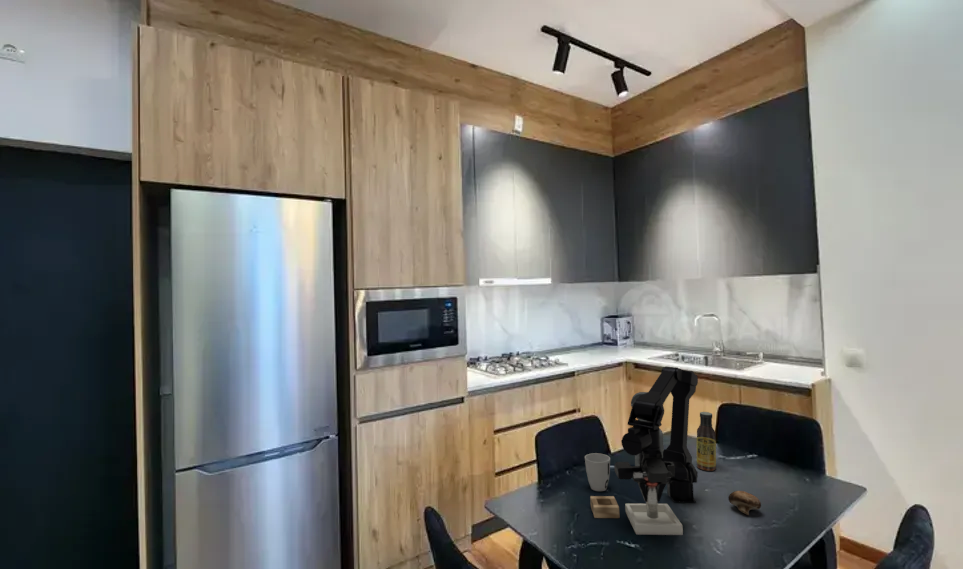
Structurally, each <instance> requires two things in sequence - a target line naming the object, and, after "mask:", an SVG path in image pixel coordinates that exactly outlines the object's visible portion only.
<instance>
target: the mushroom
mask: <svg viewBox="0 0 963 569" xmlns="http://www.w3.org/2000/svg"><path fill="white" fill-rule="evenodd" d="M728 501H729V504H731V505H732V506H734V507H737V510H738V511H740V512H741V513H743V514H744V515H747V516H749V515H750V511H751V510H754V511H755V510H760V509H761V507H762V503H761V501H760V499H759V498H758V497H757V496H755V495H753V494H752V493H748V492H747V491H744V490H734V491H733V492H731V493H730V494H729V495H728Z"/></svg>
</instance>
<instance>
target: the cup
mask: <svg viewBox="0 0 963 569" xmlns="http://www.w3.org/2000/svg"><path fill="white" fill-rule="evenodd" d="M584 461H585V462H584V465H585V471H586V475H587V481H588V483H589V486H590V489H591V490H593V491H595V492H605V491H606V490H607V489H608V486H609V482H610V481H609V480H610V474H611V457H610V456H609V455H607V454H603V453H597V452H595V453H593V452H592V453H589V454H588V453H587V454H586V455H584Z"/></svg>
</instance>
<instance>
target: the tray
mask: <svg viewBox="0 0 963 569" xmlns="http://www.w3.org/2000/svg"><path fill="white" fill-rule="evenodd" d="M624 504H625V506H624V510H625V514H626V516H627V519H628V520H629V522H630V525H631V526H632V528H633V531H634V533H635V534H636V535H637V536H638V535H639V536H641V535H643V536H645V535H647V536H648V535H653V536H655V535H656V536H665V535H666V536H683V535H684V534H683V533H684V530H683V527H684V526H683V524H682V523H681V522H680V521H681V520H679V518H678V517H677V515H676V514H675V512H674V511H673V510H672V508H671V507H670V505H669V504H668V503H658V518H656V519H653V518H649V517H648V516H647V509H646V503H624Z"/></svg>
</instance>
